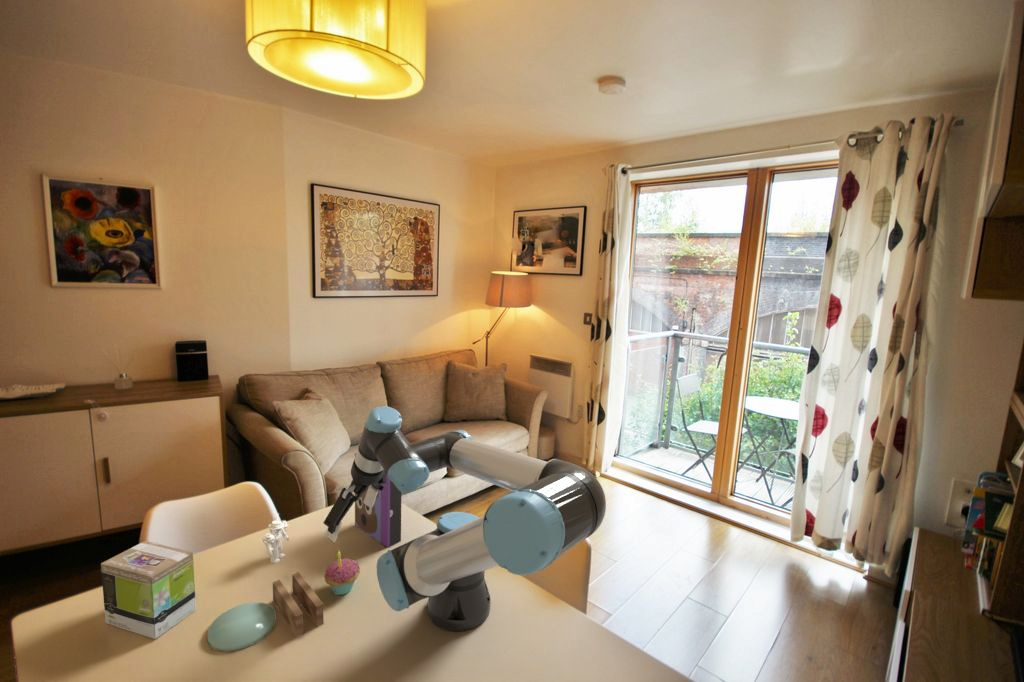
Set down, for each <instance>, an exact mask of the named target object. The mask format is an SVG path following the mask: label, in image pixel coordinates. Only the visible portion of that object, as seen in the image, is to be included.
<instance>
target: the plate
mask: <svg viewBox="0 0 1024 682" xmlns="http://www.w3.org/2000/svg"><path fill="white" fill-rule="evenodd" d="M275 623H276V610H275V609H274V607H273V606H271V605H270V604H268V603H265V602H257V601H256V602H254V601H253V602H247V603H242V604H239V605H237V606H234V607H232V608H229V609H227V610H226V611H225V612H223V613H221V614H220V615H219V616H217V617H216V618H215V620H213V622H212V623H211V624H210V626H209V627H208V630H207V642H208V645H209V647H211V649H214V650H215V651H218V652H234V651H235V652H236V651H240V650H244V649H246V648H249V647H250V646H253V645H254V644H257V643H259V641H261V640H263V639H264V638H265V637H266V636H268V634H269V633H270V632H271V631H272V630H273V627H274V626H275Z"/></svg>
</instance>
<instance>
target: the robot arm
mask: <svg viewBox="0 0 1024 682" xmlns="http://www.w3.org/2000/svg"><path fill="white" fill-rule="evenodd" d="M402 422H403V417H402V415H401V413H400V412H399V411H398V410H397V409H395V408H394V407H391V406H386V405H382V406H377V407H374V408H373V409H372V410H370V411H369V414H368V415H367V419H366V421H365V422H364V426H363V430H362V434H361V436H360V440H359V443H358V445H357V450H356V456H355V455H354V459H353V462H352V465H351V467H350V474H351V475H350V476H351V478H352V480H351V482H350V485H349V486H348V488H346V487H343V488H342V489H341V490H340V493H339V495H338V496H337V499H336V500H335V502H334V504H333V506H331V509H330V510H329V512H328V514H327V516H326V518H325V519H324V520H323V525H325V526H326V527H327V530H326V533H325V536H326V537H327V538H328V539H330V540H331V541H332V542H336V541H337V538H338V536H339V532H340V530H341V527H342V524H343V523H342V521H343V519H344V517H345V516H346V515H347V513H348V512H349V510H350V509H351V508H352V506H353V504H355V501H358V500H359V498H360V497H361V495H362V494H363V492H365V491H366V490H367V489H368V491H367V494H366V496H365V499H364V502H363V503H364V504H366V505H367V506H368V507H370V508H372V507H373V505H374V502H375V499H376V497H377V494H378V491H379V490H380V491H382V490H383V488H384V487H383V486H382V485H381V484H382V483H383V484H385V483H386V481H387V479H386V473H387V475H388V477H389V479H390V480H391V481H392V482H393V483H394V484H395V486H396V487H397V488H398V490H399V491H401V492H402V493H405V494H408V493H411V492H412V493H413V492H415V491H416V490H417V489H418V488H421V487H422V486H423V485H425V483H426V482H427V480H428V478H429V476H430V474H431V473H432V472H435V471H438V470H441V469H444V468H450V469H452V470H456V471H458V472H460V473H463V474H465V475H468V476H471V477H473V478H476V479H479V480H481V481H485V482H487V483H490V484H493V485H494V486H498V487H500V488H503V489H506V490H508V491H510V492H507V493H505V494H504V495H502V496H501V497H500V498H497V499H496V500H494V501H493V502H492V503H490V504H489V506H488V507H487V509H486V510H485V512H484V514H483V515H482V516H481V517H479V516H477V515H475V514H472V513H470V512H463V511H452V512H450V511H449V512H446V513H443V514H442V515H440V516H439V517H438V520H437V522H436V529H435V530H433V531H430V532H428V533H426V534H423V535H421V536H418V537H416V538H414V539H412V540H410V541H408V542H406V543H404V544H401V545H399V546H396V547H395V548H393V549H388V550H387V551H386V552H384V553H383V554H381V555H380V556H379V557H378V558H377V559H378V560H377V562H376V576H377V581H378V582H377V583H378V585H379V589H380V592H381V594H382V596H383V599H384V600H385V602H386V604H387V605H388V606H389V608H391V610H393V611H395V612H401V611H403V610H405V609H407V610H408V609H409V608H410V606H412V605H414V604H416V603H418V602H419V601H421V600H424V599H428V600H427V615H428V617H429V620H431V622H432V623H433V624H434V625H435V626H437V627H439V628H441V629H443V630H445V631H451V632H465V631H469V630H472V629H474V628H477V627H478V626H480V625H481V624H483V623H484V622H485V621H486V619H487V618H488V617H489V615H490V611H491V595H490V591H489V588H488V585H487V582H486V579H485V574H486V573H485V571H487V570H488V571H489V570H491V569H494V568H497V567H501V568H502V569H503V570H507V572H509V573H511V574H513V575H516V576H528V575H531V574H535V573H537V572H539V571H543V570H545V569H547V567H549V566H551V564H552V563H554V561H556V560H557V559H558V558H560V557H561V556H563V555H564V554H566V553H567V552H569V551H570V550H572V548H574V547H576V546H577V545H578V544H580V543H582V542H583V541H584V540H585V539H588V538H589V537H591V536H592V535H593V534H594V533H595V532H597V531H598V529H599V527H601V525H602V523H603V521H604V519H605V515H606V511H607V509H606V508H607V500H606V494H605V490H604V489H603V487H602V485H601V483H600V481H599V480H598V478H597V477H596V476H595V475H594V474H593V473H592V472H590V471H588V469H587V468H584V467H582V466H580V465H578V464H576V463H575V464H574V463H572V462H570V461H565V460H562V459H559V458H552V459H550V460H548V461H546V460H543V459H539V458H535V457H532V456H529V455H525V454H521V453H518V452H515V451H512V450H509V449H508V450H507V449H504V448H501V447H497V446H495V445H490V444H487V443H484V442H481V441H477V440H475V439H474V440H473V437H472V436H471V434H469V432H467V431H466V430H463V429H458V430H451V431H447V432H446V433H442V434H439V435H435V436H433V437H428V438H426V439H422V440H418V441H414V442H410V441H409V440H408V439H407V438H406V437H405V435H404V434H403V432H402V431H401V430H400V428H401V427H402ZM372 485H373V486H372ZM353 493H354V494H353ZM355 493H356V494H357V496H355Z"/></svg>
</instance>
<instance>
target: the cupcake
mask: <svg viewBox="0 0 1024 682" xmlns="http://www.w3.org/2000/svg"><path fill="white" fill-rule="evenodd" d="M360 573H361V567H360V564H359V563H358V562H357V561H356V560H353V559H351V558H346V557H344V558H341V551H340V549H337V560H334V561H332V562H331V563H329V565H328V566H327V567H326V568H325V570H324V576H323V577H324V581H325V583H326V584H327V585H329V586H330V589H331V590H332V592H333V594H335V595H336V596H337V595H338V596H343V595H346V594H349V592H351V591H352V589H353V586H354V583H355V581H356V580H357V579H358V577H359V575H360Z"/></svg>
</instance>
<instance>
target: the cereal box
mask: <svg viewBox="0 0 1024 682" xmlns="http://www.w3.org/2000/svg"><path fill="white" fill-rule="evenodd" d="M356 453H357V452H356ZM356 453H354V457H355V456H356ZM386 479H387V481H386V483H385V484H383V483H382V484H381V485H382V486H383V487H384V488H383V490H382V491H380V490H379V491H378V494H377V497H376V499H375V502H374V505H373V507H372V508H370V507H368V506H367V505H366V504H364V503H363V502H364V499H365V496H366V494H367V491H368V489H367V490H366V491H365V492H363V494H362V495H361V497H360V498H359V500H358V501H355V502H354V526H355V527H357V528H358V529H360V530H361V531H363V533H366V534H367V535H368V536H370V537H371V538H372V539H374V540H375V541H377V542H378V543H379V544H381V545H383V546H384V547H385V548H387V549H388V548H390V547H392V546H394V545H396V544H398V543H401V541H402V493H403V492H401V491H399V490H398V488H397V487H396V486H395V484H394V483H393V482H392V481H391V480H390V479H389V477H388V475H387V473H386ZM372 486H373V485H372ZM354 496H357V494H356V493H354Z"/></svg>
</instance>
